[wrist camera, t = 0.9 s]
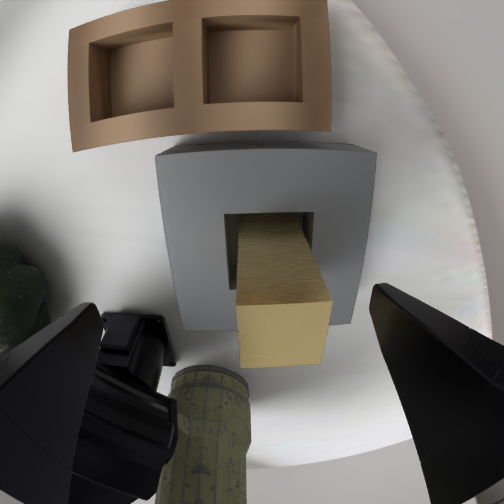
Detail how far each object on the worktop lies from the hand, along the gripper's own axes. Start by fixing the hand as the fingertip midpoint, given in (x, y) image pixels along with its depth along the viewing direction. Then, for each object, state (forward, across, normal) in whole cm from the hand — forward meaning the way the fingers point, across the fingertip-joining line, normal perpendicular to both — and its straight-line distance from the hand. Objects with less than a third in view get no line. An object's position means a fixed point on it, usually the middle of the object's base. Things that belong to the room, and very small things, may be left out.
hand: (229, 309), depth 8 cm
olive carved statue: (+13, +5, +21) cm, 25 cm away
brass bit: (+11, -2, +2) cm, 11 cm away
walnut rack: (+12, +2, -9) cm, 15 cm away
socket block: (+12, -2, +2) cm, 12 cm away
